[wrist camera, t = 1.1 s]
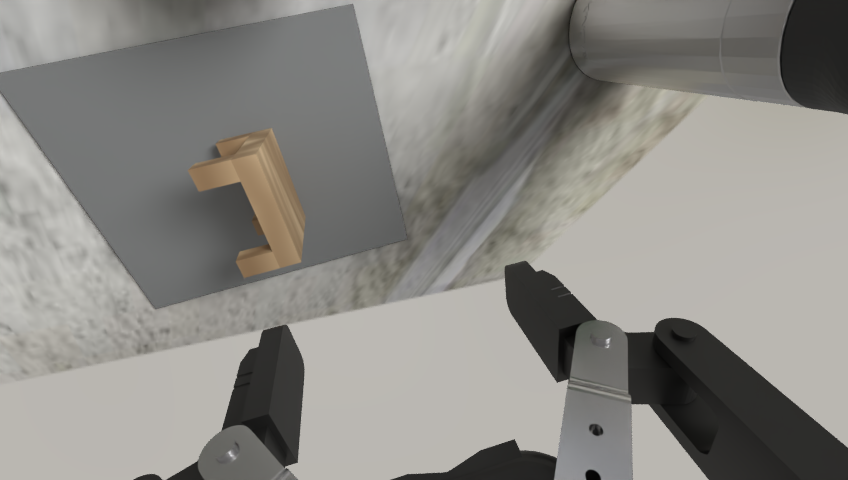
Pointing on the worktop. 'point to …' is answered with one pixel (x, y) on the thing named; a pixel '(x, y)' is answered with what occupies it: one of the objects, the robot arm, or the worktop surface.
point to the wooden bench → (259, 197)
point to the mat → (196, 142)
